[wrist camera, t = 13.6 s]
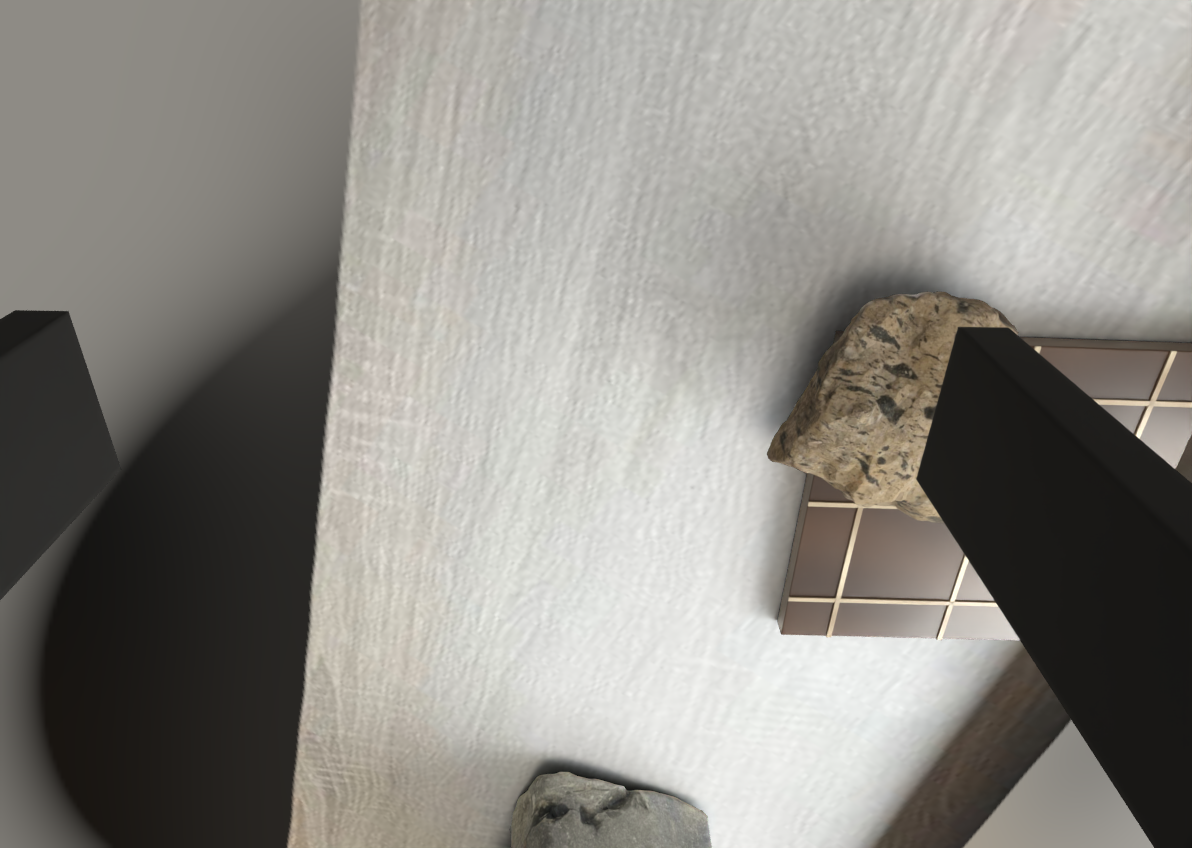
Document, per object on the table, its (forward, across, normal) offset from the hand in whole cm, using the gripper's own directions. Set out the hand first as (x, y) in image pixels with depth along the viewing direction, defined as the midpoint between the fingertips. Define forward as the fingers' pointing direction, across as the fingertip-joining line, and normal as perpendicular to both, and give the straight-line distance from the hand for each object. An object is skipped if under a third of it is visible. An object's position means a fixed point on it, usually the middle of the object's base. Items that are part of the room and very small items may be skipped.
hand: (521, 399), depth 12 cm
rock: (+26, +17, -13) cm, 33 cm away
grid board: (+26, +24, -20) cm, 41 cm away
